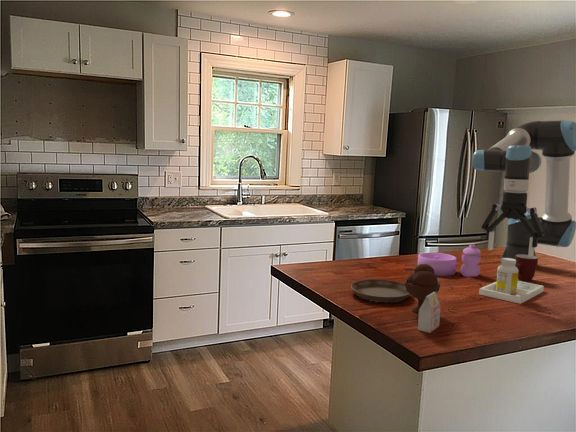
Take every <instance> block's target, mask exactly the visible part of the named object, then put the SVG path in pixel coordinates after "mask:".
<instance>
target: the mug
mask: <svg viewBox="0 0 576 432" xmlns="http://www.w3.org/2000/svg"><path fill="white" fill-rule="evenodd" d="M515 260H516V264H515V267H517V268H518V281H522V282H531V281H532V280H533V279H534V277H535V275H536V274H535V273H536V271H537V267H538V264H539V263H538V262H539V257H538V256H537V255H536V256H533V257H528V255H524V254H518V255H515Z"/></svg>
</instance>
